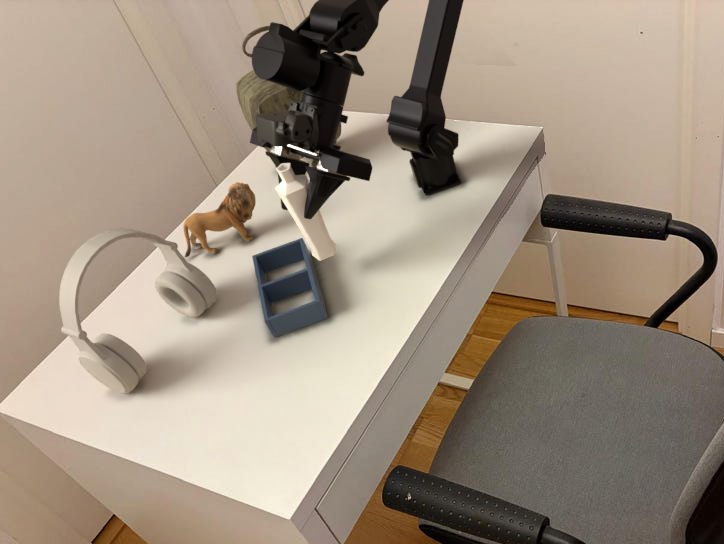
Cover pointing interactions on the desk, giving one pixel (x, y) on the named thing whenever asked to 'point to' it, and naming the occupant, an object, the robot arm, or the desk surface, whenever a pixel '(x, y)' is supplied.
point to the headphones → (107, 352)
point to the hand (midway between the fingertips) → (296, 214)
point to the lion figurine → (222, 218)
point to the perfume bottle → (294, 199)
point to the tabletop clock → (264, 95)
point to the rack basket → (288, 288)
